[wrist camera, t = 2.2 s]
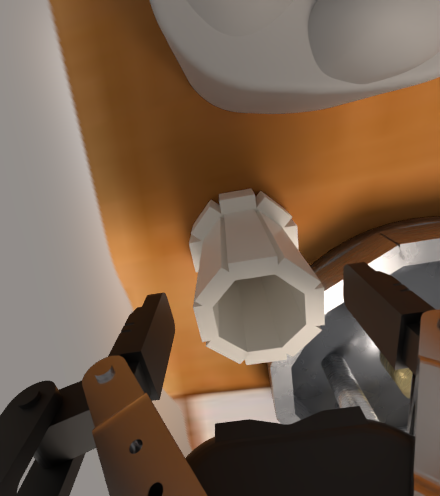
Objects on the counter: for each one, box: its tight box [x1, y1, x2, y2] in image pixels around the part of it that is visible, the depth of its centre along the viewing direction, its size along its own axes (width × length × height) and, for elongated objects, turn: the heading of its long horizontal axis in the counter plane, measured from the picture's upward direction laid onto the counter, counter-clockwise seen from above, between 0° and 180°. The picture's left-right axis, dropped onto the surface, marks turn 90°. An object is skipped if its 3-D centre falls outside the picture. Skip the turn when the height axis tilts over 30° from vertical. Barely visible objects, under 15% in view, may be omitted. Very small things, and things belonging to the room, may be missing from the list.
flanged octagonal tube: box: [189, 188, 325, 365], centre depth 13 cm, size 6×6×8 cm
